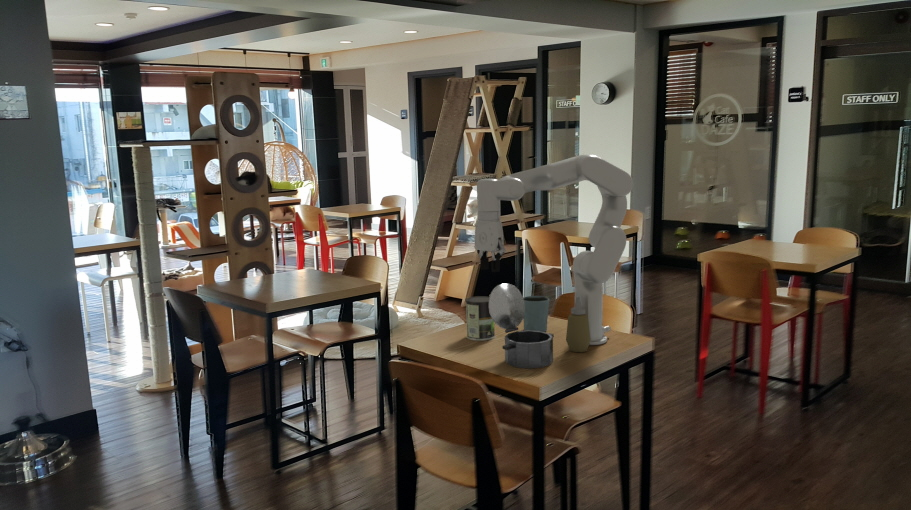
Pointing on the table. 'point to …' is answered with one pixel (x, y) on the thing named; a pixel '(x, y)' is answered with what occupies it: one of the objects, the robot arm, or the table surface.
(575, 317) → the squeeze bottle
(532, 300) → the blue-green cup
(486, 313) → the coffee can
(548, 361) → the pot
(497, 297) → the lid
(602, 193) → the robot arm
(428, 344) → the table surface
